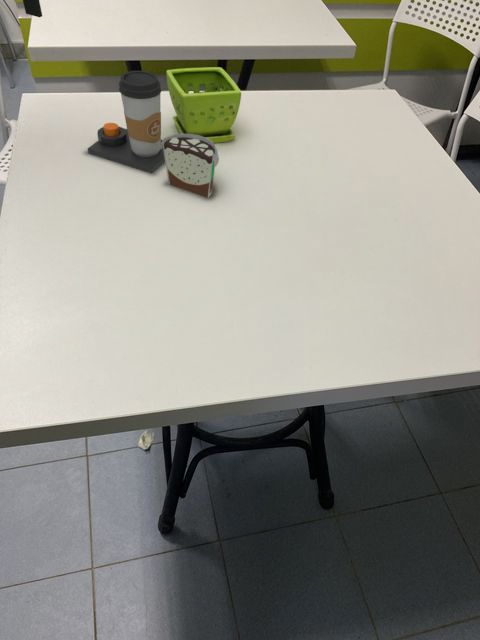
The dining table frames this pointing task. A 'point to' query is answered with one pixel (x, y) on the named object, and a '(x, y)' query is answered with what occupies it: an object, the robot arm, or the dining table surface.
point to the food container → (190, 162)
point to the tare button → (111, 129)
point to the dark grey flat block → (124, 151)
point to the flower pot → (204, 102)
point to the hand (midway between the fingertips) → (6, 26)
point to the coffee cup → (142, 111)
